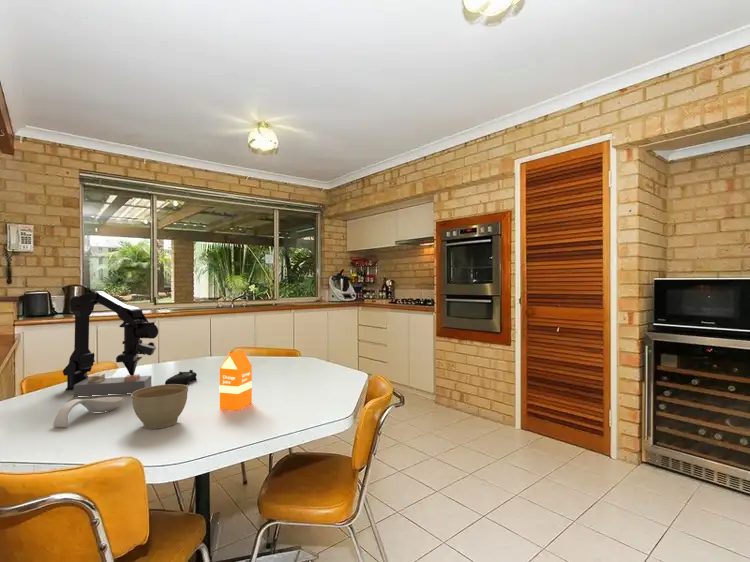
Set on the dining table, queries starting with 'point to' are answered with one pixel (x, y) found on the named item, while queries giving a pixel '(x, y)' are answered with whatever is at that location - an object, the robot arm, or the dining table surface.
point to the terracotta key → (131, 377)
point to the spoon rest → (90, 404)
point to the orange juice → (235, 381)
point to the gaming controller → (182, 378)
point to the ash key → (96, 378)
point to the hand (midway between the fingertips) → (132, 375)
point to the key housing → (111, 386)
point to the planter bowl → (159, 404)
